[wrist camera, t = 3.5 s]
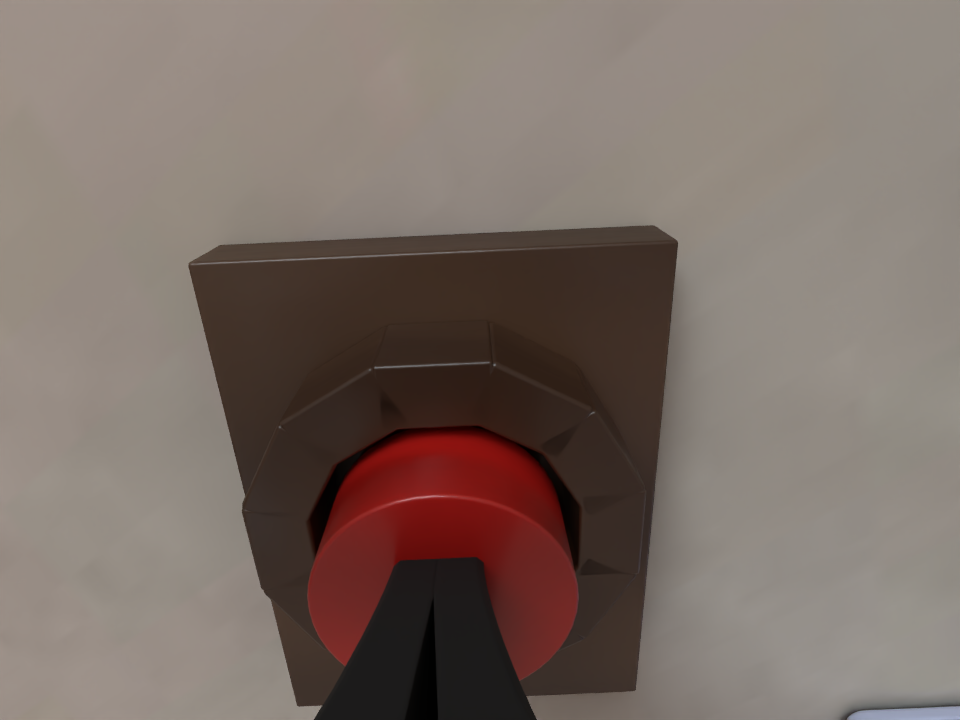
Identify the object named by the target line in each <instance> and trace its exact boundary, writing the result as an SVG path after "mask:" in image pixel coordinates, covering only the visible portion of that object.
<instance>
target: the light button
mask: <svg viewBox="0 0 960 720" xmlns="http://www.w3.org/2000/svg"><path fill="white" fill-rule="evenodd" d="M463 557H477V558H479V559H480V560H481V561H482V562H484V572H485V578H486V584H487V588H488V593H489V596H490V600H491V604H492V607H493V611H494V614H495V617H496V620H497V623H498V626H499V629H500V632H501V635H502V638H503V641H504V643H505V646H506V649H507V651H508V654H509V656H510V659H511V661H512V664H513V666H514V669H515V671H516V674H517V676H518V679H519V681H520V680H522V679H524V678H526V677H528V676H529V675H531V674H532V673H534V672H535V671H537V670H538V669H539V668H541V667H542V666H543V665H544V664H545V663H547V662H548V661H549V660H550V659H551V658H552V657H553V656H554V655H555V654H556V652H557V651H558V650H559V649H560V648H561V646H562V645H563V643H564V642H565V640H566V639H567V637H568V635H569V633H570V631H571V629H572V627H573V624H574V620H575V617H576V614H577V609H578V601H579V593H578V582H577V578H576V573H575V569H574V565H573V560H572V556H571V551H570V547H569V543H568V538H567V534H566V530H565V525H564V521H563V516H562V512H561V508H560V503H559V499H558V495H557V492H556V489H555V487H554V484H553V482H552V480H551V479H550V477H549V475H548V474H547V472H546V471H545V469H544V468H543V467H542V466H541V465H540V463H539V462H538V461H537V460H536V459H535V458H534V457H533V456H532V455H531V454H529V453H528V452H527V451H526V450H525V449H523V448H522V447H520V446H519V445H517V444H516V443H514V442H513V441H511V440H509V439H507V438H505V437H503V436H500V435H498V434H496V433H493V432H491V431H488V430H484V429H480V428H476V427H472V426H459V427H437V428H415V429H409V430H406V431H403V432H400V433H397V434H394V435H392V436H390V437H388V438H386V439H384V440H382V441H381V442H379V443H378V444H376V445H375V446H373V447H372V448H370V449H369V450H367V451H366V452H365V453H364V454H363V455H362V456H361V457H360V458H358V459H357V461H356V462H355V463H354V464H353V465H352V466H351V468H350V469H349V470H348V472H347V474H346V475H345V477H344V478H343V480H342V482H341V485H340V487H339V489H338V492H337V495H336V498H335V501H334V504H333V507H332V510H331V512H330V515H329V518H328V521H327V524H326V527H325V530H324V533H323V536H322V539H321V542H320V545H319V548H318V551H317V554H316V557H315V560H314V563H313V566H312V569H311V573H310V577H309V581H308V594H307V599H308V607H309V613H310V616H311V619H312V623H313V626H314V628H315V630H316V632H317V634H318V636H319V638H320V639H321V641H322V642H323V644H324V645H325V647H326V648H327V649H328V650H329V652H330V653H331V654H332V655H333V656H334V657H335V658H336V659H337V660H338V661H339V662H340V663H342V664H343V665H344V666H346V664H347V662H348V661H349V659H350V657H351V655H352V653H353V651H354V650H355V648H356V646H357V644H358V642H359V640H360V639H361V637H362V635H363V633H364V631H365V629H366V627H367V625H368V623H369V621H370V619H371V617H372V615H373V613H374V611H375V609H376V607H377V605H378V602H379V600H380V598H381V596H382V594H383V591H384V589H385V587H386V584H387V582H388V580H389V577H390V575H391V572H392V570H393V567H394V566H395V565H396V564H397V563H398V562H399V561H400V560H420V559H442V558H463Z"/></svg>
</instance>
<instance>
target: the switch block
mask: <svg viewBox="0 0 960 720" xmlns="http://www.w3.org/2000/svg"><path fill="white" fill-rule="evenodd" d="M677 248H678V242H677V240H675V239H674V238H672V237H671V236H669V235H668V234H666V233H665V232H663V231H662V230H660V229H659V228H657V227H656V226H653V225H652V226H630V227H608V228H586V229H564V230H542V231H521V232H499V233H477V234H455V235H433V236H411V237H389V238H368V239H346V240H324V241H302V242H280V243H258V244H236V245H220V246H218V247H216V248H214V249H213V250H211V251H209V252H207V253H206V254H204V255H202V256H200V257H199V258H197V259H195V260H193V261H192V262H190V263H189V270H190V274H191V278H192V282H193V287H194V291H195V295H196V299H197V303H198V307H199V311H200V315H201V319H202V323H203V327H204V331H205V335H206V339H207V343H208V347H209V351H210V355H211V359H212V363H213V367H214V371H215V375H216V379H217V384H218V388H219V392H220V396H221V400H222V404H223V408H224V412H225V416H226V420H227V424H228V428H229V432H230V436H231V440H232V444H233V448H234V452H235V456H236V460H237V464H238V468H239V472H240V476H241V480H242V485H243V489H244V493H245V499H244V501H243V503H242V508H243V509H242V514H243V518H244V522H245V526H246V530H247V534H248V538H249V542H250V546H251V550H252V553H253V557H254V561H255V565H256V569H257V573H258V577H259V581H260V585H261V588H262V589H263V590H264V593H265V594H266V595H267V596H268V597H269V598H270V599H271V602H272V606H273V610H274V614H275V618H276V622H277V626H278V630H279V634H280V638H281V642H282V646H283V650H284V654H285V658H286V662H287V666H288V670H289V674H290V679H291V683H292V687H293V691H294V695H295V699H296V703H297V706H320V705H323V704H324V702H325V701H326V699H327V697H328V696H329V694H330V693H331V691H332V689H333V688H334V686H335V684H336V682H337V681H338V679H339V677H340V675H341V673H342V672H343V670H344V668H345V666H344V665H343V664H342V663H340V662H339V661H338V660H337V659H336V658H335V657H334V656H333V655H332V654H331V653H330V652H329V650H328V649H327V648H326V647H325V645H324V644H323V642H322V641H321V639H320V638H319V636H318V634H317V632H316V630H315V628H314V626H313V623H312V619H311V616H310V613H309V607H308V599H307V594H308V581H309V577H310V573H311V569H312V566H313V563H314V560H315V557H316V554H317V551H318V548H319V545H320V542H321V539H322V536H323V533H324V530H325V527H326V524H327V521H328V518H329V515H330V512H331V510H332V507H333V504H334V501H335V498H336V495H337V492H338V489H339V487H340V485H341V482H342V480H343V478H344V477H345V475H346V474H347V472H348V470H349V469H350V468H351V466H352V465H353V464H354V463H355V462H356V461H357V459H358V458H360V457H361V456H362V455H363V454H364V453H365V452H366V451H367V450H369V449H370V448H372V447H373V446H375V445H376V444H378V443H379V442H381V441H382V440H384V439H386V438H388V437H390V436H392V435H394V434H397V433H400V432H403V431H406V430H409V429H415V428H437V427H459V426H472V427H476V428H480V429H484V430H488V431H491V432H493V433H496V434H498V435H500V436H503V437H505V438H507V439H509V440H511V441H513V442H514V443H516V444H517V445H519V446H520V447H522V448H523V449H525V450H526V451H527V452H528V453H529V454H531V455H532V456H533V457H534V458H535V459H536V460H537V461H538V462H539V463H540V465H541V466H542V467H543V468H544V469H545V471H546V472H547V474H548V475H549V477H550V479H551V480H552V482H553V484H554V487H555V489H556V492H557V495H558V499H559V503H560V508H561V512H562V516H563V521H564V525H565V530H566V534H567V538H568V543H569V547H570V551H571V556H572V560H573V565H574V569H575V573H576V578H577V582H578V593H579V601H578V609H577V614H576V617H575V620H574V624H573V627H572V629H571V631H570V633H569V635H568V637H567V639H566V640H565V642H564V643H563V645H562V646H561V648H560V649H559V650H558V651H557V652H556V654H555V655H554V656H553V657H552V658H551V659H550V660H549V661H548V662H547V663H545V664H544V665H543V666H542V667H541V668H539V669H538V670H537V671H535V672H534V673H532V674H531V675H529V676H528V677H526V678H524V679H522V680H520V684H521V686H522V688H523V691H524V693H525V695H526V696H539V695H560V694H582V693H604V692H626V691H635V690H636V681H637V670H638V660H639V649H640V639H641V628H642V618H643V607H644V596H645V586H646V575H647V565H648V554H649V544H650V533H651V523H652V512H653V502H654V491H655V480H656V470H657V459H658V449H659V438H660V428H661V417H662V407H663V396H664V385H665V375H666V364H667V354H668V343H669V333H670V322H671V312H672V301H673V290H674V280H675V269H676V259H677Z"/></svg>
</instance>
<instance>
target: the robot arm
mask: <svg viewBox="0 0 960 720" xmlns="http://www.w3.org/2000/svg"><path fill="white" fill-rule="evenodd" d="M314 720H537V719H536V717H535V715H534V713H533V711H532V709H531V706H530V704H529V702H528V700H527V697H526V695H525V693H524V691H523V688H522V686H521V684H520V681H519V679H518V676H517V674H516V671H515V669H514V666H513V664H512V661H511V659H510V656H509V654H508V651H507V649H506V646H505V643H504V641H503V638H502V635H501V632H500V629H499V626H498V623H497V620H496V617H495V614H494V611H493V607H492V604H491V600H490V596H489V593H488V588H487V584H486V578H485V572H484V562H482V561H481V560H480V559H479V558H477V557H463V558H442V559H420V560H400V561H399V562H398V563H397V564H396V565H395V566H394V567H393V570H392V572H391V575H390V577H389V580H388V582H387V584H386V587H385V589H384V591H383V594H382V596H381V598H380V600H379V602H378V605H377V607H376V609H375V611H374V613H373V615H372V617H371V619H370V621H369V623H368V625H367V627H366V629H365V631H364V633H363V635H362V637H361V639H360V640H359V642H358V644H357V646H356V648H355V650H354V651H353V653H352V655H351V657H350V659H349V661H348V662H347V664H346V666H345V668H344V670H343V672H342V673H341V675H340V677H339V679H338V681H337V682H336V684H335V686H334V688H333V689H332V691H331V693H330V694H329V696H328V697H327V699H326V701H325V702H324V704H323V706H322V707H321V709H320V710H319V712H318V714H317V715H316V717H315V719H314ZM846 720H960V706H946V707H924V708H902V709H880V710H862V711H857V712H855V713H852V714H851V715H850V716H849V717H848V718H847V719H846Z"/></svg>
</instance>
